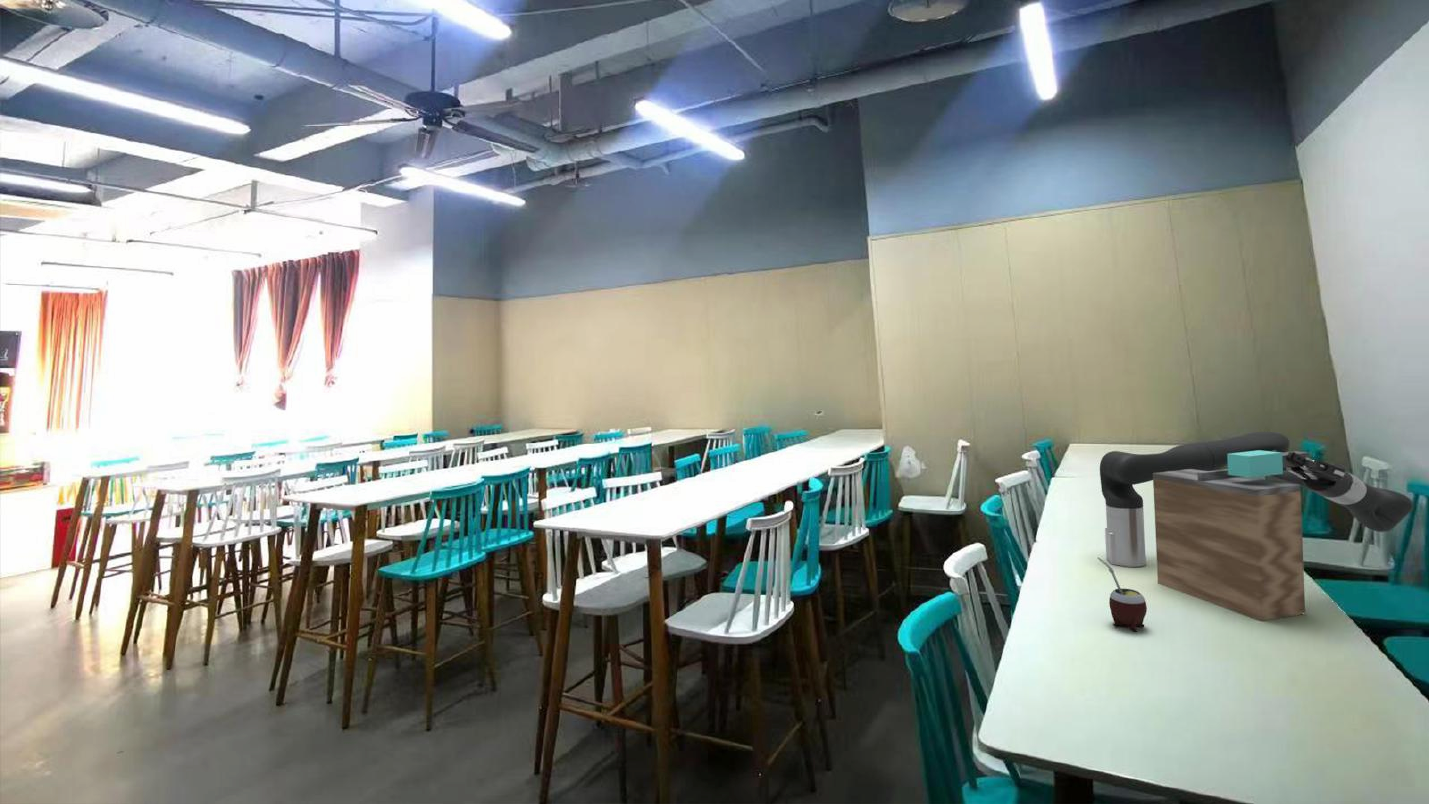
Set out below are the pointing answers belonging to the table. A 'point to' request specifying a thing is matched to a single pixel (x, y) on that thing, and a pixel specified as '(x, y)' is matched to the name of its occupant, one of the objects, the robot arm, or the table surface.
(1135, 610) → the mate gourd
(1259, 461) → the block
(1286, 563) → the cabinet
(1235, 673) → the table surface
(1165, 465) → the robot arm
